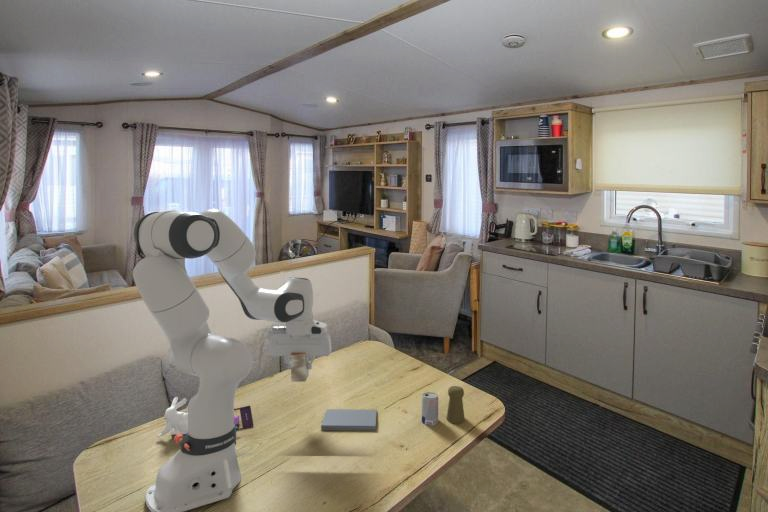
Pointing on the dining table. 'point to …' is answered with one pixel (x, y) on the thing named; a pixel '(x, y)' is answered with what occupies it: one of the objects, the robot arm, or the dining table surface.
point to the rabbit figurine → (176, 419)
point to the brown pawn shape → (455, 405)
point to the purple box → (244, 418)
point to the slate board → (349, 419)
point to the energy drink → (430, 408)
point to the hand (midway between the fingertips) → (300, 368)
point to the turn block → (299, 367)
